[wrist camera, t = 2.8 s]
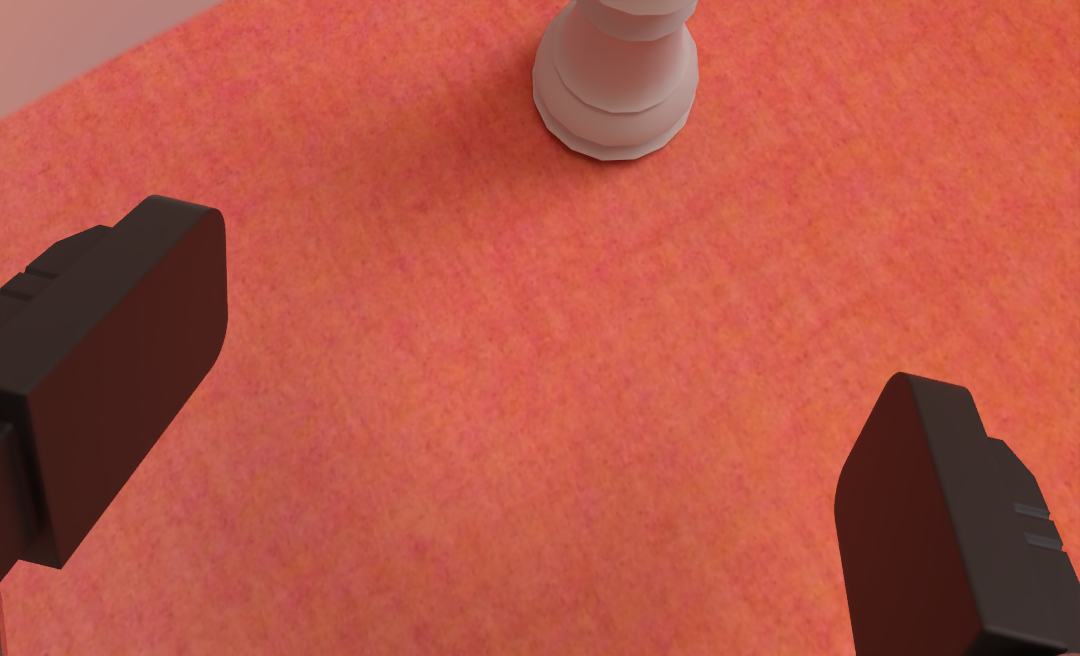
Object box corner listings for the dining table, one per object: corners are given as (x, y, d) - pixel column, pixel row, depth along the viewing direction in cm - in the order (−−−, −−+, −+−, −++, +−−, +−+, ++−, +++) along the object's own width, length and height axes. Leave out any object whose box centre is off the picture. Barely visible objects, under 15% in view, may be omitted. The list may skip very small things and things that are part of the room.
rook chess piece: (627, -14, 26) (674, -235, 18) (725, 107, 25) (818, -65, 17) (499, 72, 25) (487, -116, 17) (595, 199, 25) (629, 64, 17)
